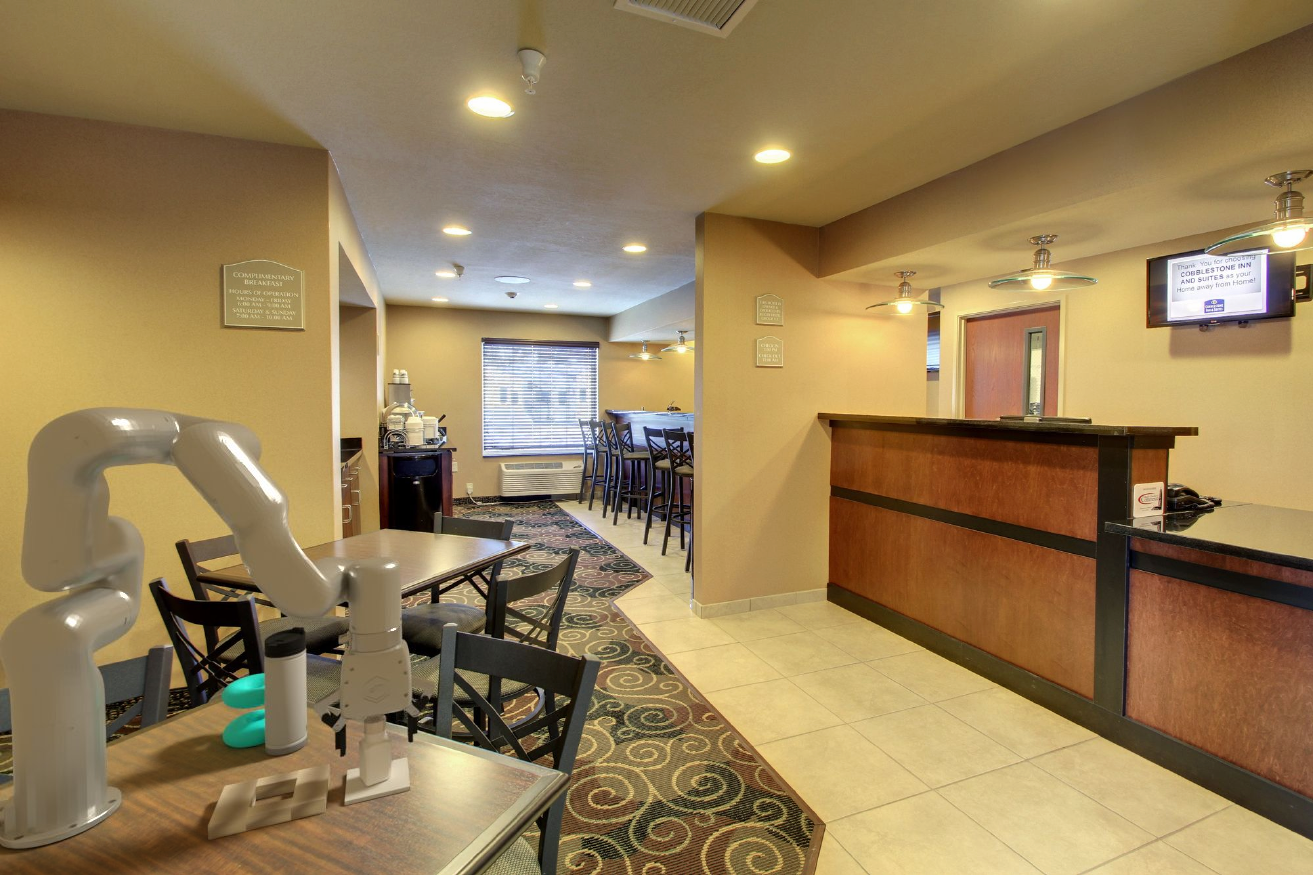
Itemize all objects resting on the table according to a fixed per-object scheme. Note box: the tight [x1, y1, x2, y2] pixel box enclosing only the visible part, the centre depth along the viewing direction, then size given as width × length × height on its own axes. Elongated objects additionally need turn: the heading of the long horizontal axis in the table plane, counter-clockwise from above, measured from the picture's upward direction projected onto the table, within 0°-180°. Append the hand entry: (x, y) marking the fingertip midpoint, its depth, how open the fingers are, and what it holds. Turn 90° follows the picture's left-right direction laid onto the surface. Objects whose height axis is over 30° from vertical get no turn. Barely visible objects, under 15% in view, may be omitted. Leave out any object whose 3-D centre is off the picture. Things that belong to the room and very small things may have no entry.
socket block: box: [207, 763, 331, 841], centre depth 90 cm, size 14×10×2 cm
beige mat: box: [344, 757, 411, 806], centre depth 96 cm, size 9×9×1 cm
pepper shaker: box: [358, 714, 392, 786], centre depth 96 cm, size 4×4×10 cm
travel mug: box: [263, 626, 308, 756], centre depth 106 cm, size 6×7×20 cm
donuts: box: [221, 672, 266, 748], centre depth 110 cm, size 10×10×10 cm
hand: (377, 745), depth 96 cm, fingers open, 9 cm apart
